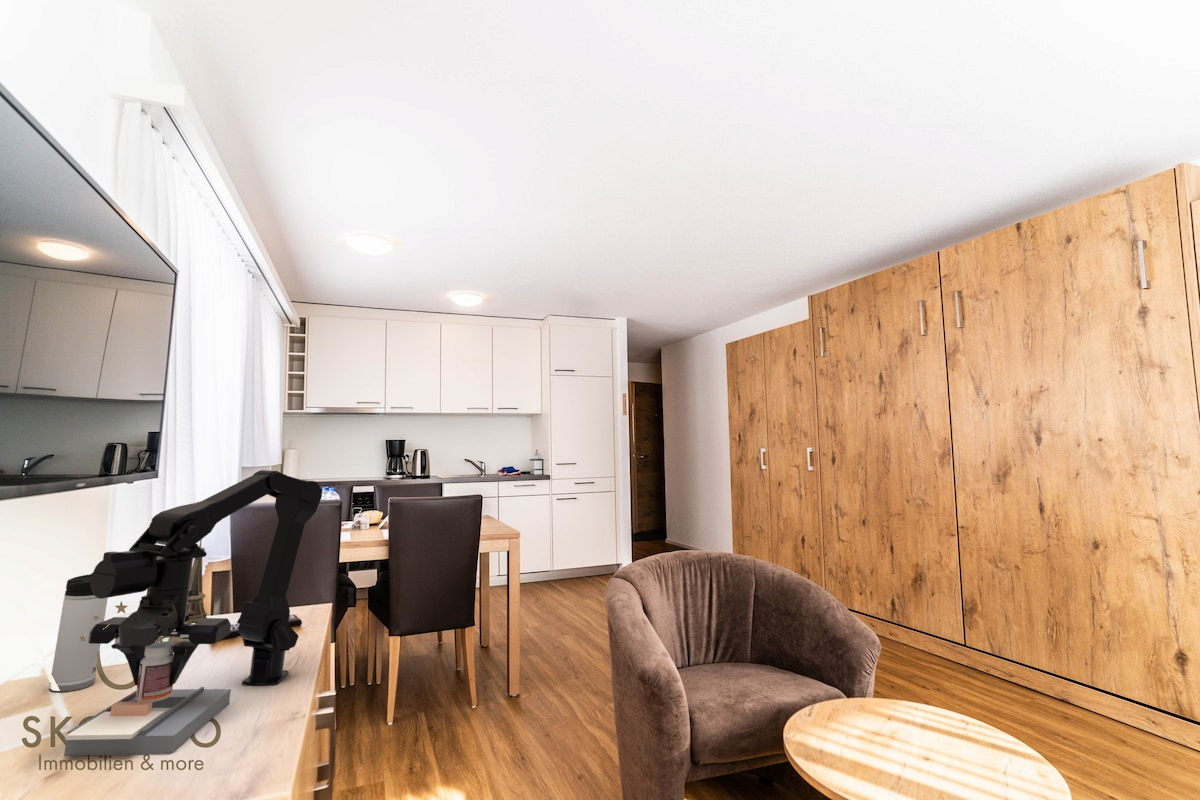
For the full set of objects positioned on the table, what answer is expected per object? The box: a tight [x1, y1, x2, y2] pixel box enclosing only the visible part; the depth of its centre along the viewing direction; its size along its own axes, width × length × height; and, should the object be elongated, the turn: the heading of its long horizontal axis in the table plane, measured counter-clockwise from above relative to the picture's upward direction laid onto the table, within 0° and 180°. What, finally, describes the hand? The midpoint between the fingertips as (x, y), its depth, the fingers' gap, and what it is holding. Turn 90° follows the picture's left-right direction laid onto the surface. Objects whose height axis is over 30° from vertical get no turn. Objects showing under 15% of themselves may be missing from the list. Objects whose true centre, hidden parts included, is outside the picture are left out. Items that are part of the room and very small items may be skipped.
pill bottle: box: [135, 640, 175, 702], centre depth 95 cm, size 5×5×8 cm
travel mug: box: [51, 573, 109, 693], centre depth 107 cm, size 6×7×20 cm
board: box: [63, 686, 232, 757], centre depth 92 cm, size 18×14×3 cm
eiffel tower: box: [163, 539, 208, 644], centre depth 139 cm, size 11×11×25 cm
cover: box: [65, 701, 164, 741], centre depth 86 cm, size 8×8×2 cm
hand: (155, 684), depth 95 cm, fingers closed on pill bottle, 5 cm apart
